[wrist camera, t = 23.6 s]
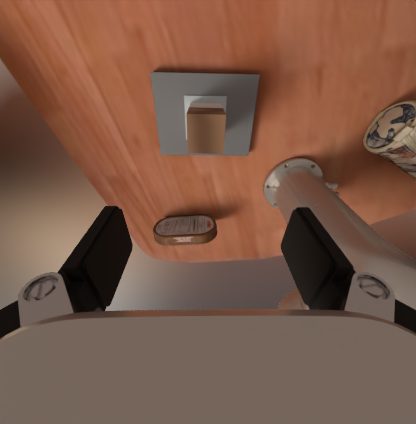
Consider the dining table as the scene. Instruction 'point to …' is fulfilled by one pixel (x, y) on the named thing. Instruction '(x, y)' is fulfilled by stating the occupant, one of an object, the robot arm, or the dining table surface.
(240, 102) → the grey tray
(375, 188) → the dining table surface
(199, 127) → the walnut block
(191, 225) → the tin
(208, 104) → the off-white block
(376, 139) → the pencil case
